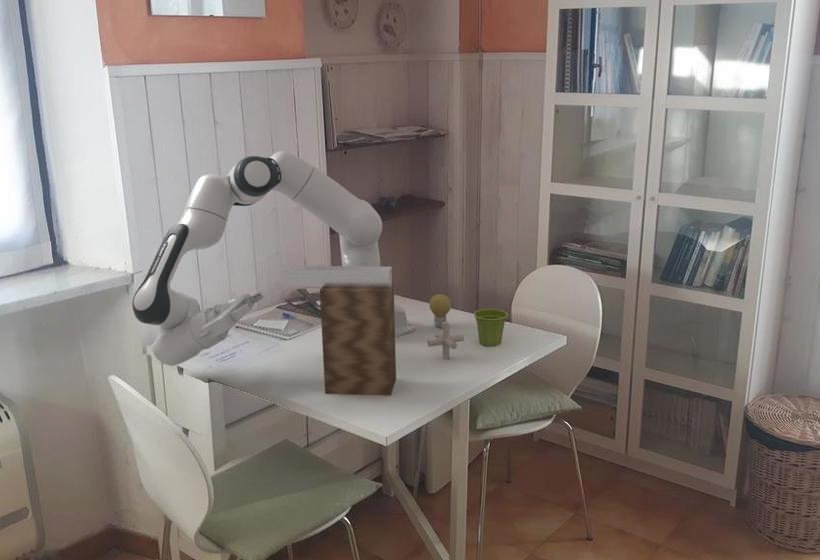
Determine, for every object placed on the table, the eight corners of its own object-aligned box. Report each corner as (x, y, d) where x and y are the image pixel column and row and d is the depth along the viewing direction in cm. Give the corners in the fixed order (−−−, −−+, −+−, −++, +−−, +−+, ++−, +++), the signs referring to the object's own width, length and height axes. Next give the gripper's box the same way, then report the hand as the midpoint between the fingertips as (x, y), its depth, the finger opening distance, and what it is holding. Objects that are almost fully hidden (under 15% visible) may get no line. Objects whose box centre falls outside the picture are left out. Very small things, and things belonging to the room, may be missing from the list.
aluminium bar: (281, 286, 184) (280, 269, 183) (285, 281, 188) (284, 265, 187) (389, 287, 182) (389, 271, 180) (391, 282, 185) (391, 266, 184)
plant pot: (488, 335, 226) (488, 306, 223) (514, 342, 219) (514, 313, 217) (466, 343, 219) (466, 314, 217) (492, 351, 213) (493, 321, 210)
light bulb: (435, 331, 230) (435, 299, 227) (426, 325, 235) (425, 293, 233) (454, 328, 232) (454, 296, 229) (445, 322, 238) (444, 290, 235)
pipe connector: (437, 367, 202) (436, 331, 200) (421, 355, 211) (420, 320, 208) (471, 361, 206) (471, 325, 203) (454, 349, 215) (454, 314, 212)
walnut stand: (325, 393, 187) (319, 290, 180) (333, 377, 197) (328, 278, 190) (390, 395, 186) (387, 291, 179) (396, 379, 195) (393, 279, 188)
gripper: (187, 330, 181) (234, 302, 178) (217, 303, 201) (260, 278, 197) (202, 352, 182) (249, 325, 179) (231, 324, 202) (274, 299, 199)
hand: (255, 300), depth 188 cm, fingers open, 8 cm apart
